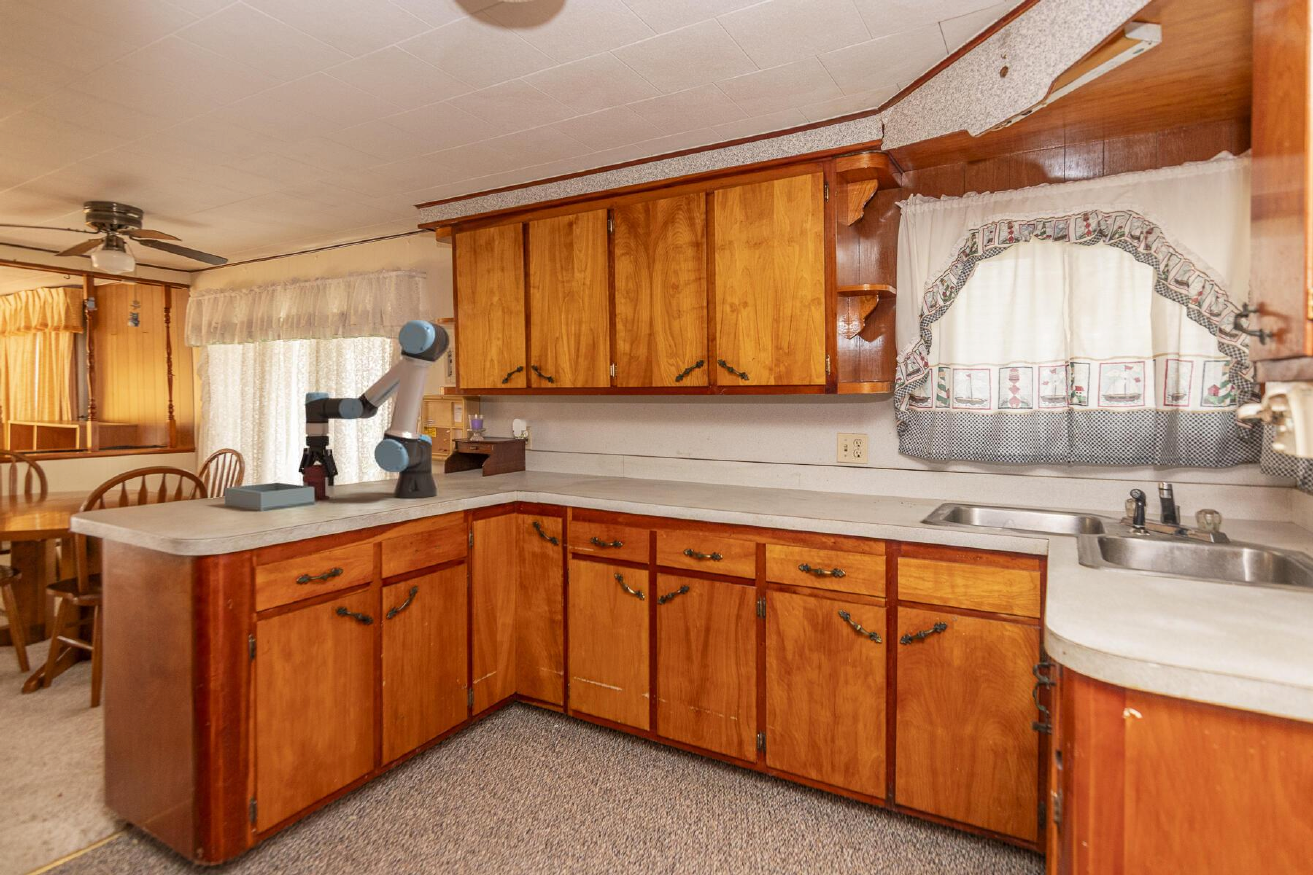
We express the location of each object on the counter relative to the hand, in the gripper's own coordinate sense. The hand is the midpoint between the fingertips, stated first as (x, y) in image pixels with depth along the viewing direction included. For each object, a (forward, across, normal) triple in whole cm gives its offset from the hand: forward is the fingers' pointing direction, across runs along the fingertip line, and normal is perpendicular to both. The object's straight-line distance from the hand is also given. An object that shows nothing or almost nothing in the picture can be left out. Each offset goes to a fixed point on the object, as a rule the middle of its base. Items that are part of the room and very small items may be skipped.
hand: (318, 493), depth 248 cm
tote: (+2, -1, +18) cm, 18 cm away
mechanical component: (+2, 0, 0) cm, 2 cm away
